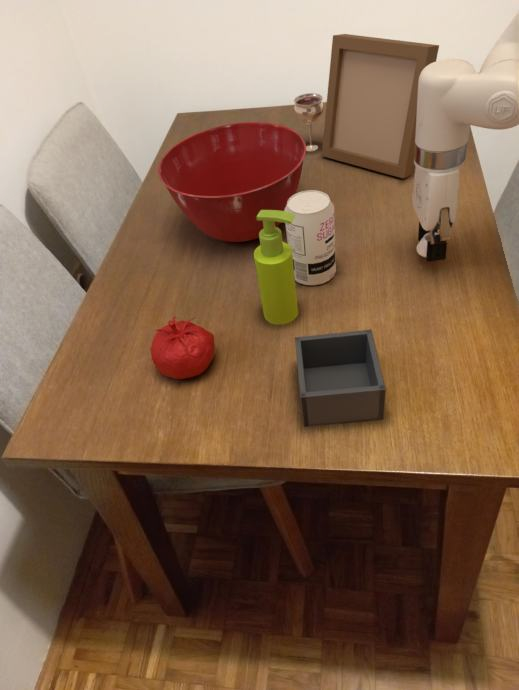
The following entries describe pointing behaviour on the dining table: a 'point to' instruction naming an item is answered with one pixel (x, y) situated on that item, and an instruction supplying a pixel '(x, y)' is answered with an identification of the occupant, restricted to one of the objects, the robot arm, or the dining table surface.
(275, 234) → the soap dispenser
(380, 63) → the photo frame
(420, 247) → the white jar
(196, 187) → the mixing bowl
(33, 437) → the dining table surface
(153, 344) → the red tomato
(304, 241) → the supplement can
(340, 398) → the grey open box
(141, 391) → the dining table surface
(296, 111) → the wineglass
